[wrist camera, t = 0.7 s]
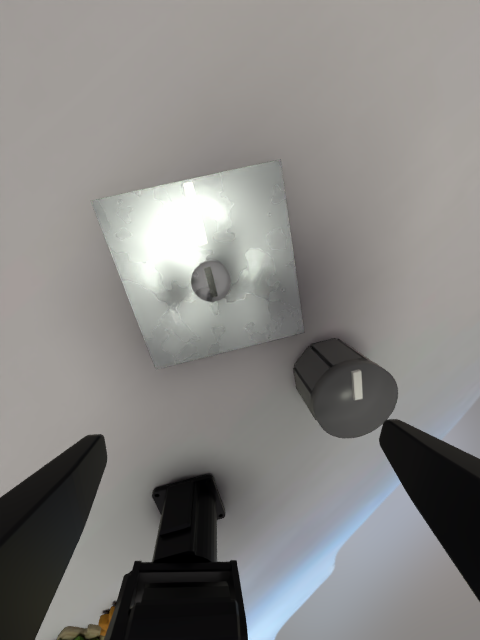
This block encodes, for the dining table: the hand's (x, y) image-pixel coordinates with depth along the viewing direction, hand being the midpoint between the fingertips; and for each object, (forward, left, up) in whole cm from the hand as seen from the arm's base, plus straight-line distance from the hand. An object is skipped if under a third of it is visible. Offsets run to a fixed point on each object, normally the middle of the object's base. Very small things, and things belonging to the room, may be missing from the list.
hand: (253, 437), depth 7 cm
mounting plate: (+4, 0, -13) cm, 13 cm away
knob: (-7, -8, -13) cm, 17 cm away
